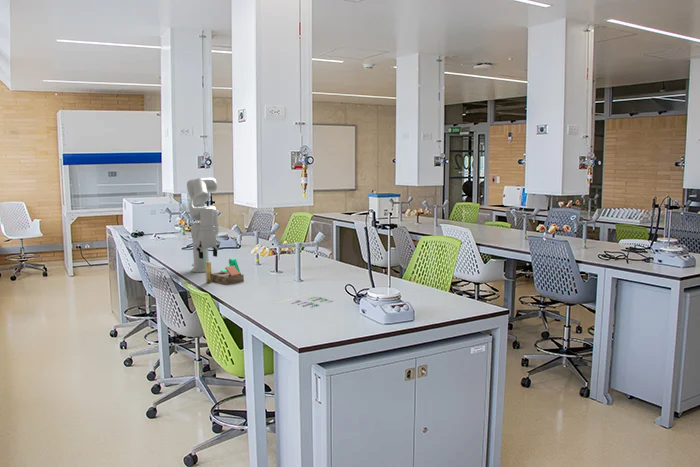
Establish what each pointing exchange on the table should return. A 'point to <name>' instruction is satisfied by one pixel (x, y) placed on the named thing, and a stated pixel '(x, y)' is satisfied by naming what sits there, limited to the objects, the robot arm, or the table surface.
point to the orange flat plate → (232, 271)
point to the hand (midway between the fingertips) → (208, 257)
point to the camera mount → (232, 264)
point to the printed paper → (304, 302)
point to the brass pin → (208, 272)
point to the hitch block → (226, 277)
